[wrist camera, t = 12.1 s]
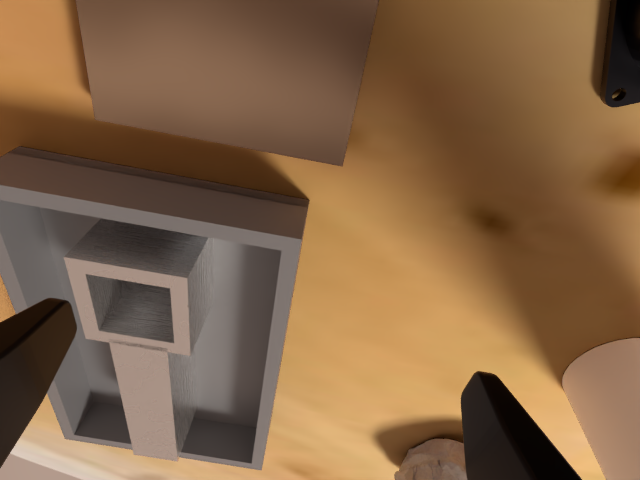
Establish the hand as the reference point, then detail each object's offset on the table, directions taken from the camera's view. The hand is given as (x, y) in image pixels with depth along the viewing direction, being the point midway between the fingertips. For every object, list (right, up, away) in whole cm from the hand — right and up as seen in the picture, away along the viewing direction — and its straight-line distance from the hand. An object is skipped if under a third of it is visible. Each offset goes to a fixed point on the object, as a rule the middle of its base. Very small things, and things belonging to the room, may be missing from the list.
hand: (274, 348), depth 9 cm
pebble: (+12, -15, +25) cm, 32 cm away
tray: (-8, -3, +18) cm, 20 cm away
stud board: (-1, +17, +3) cm, 17 cm away
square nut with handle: (-9, -3, +17) cm, 19 cm away
